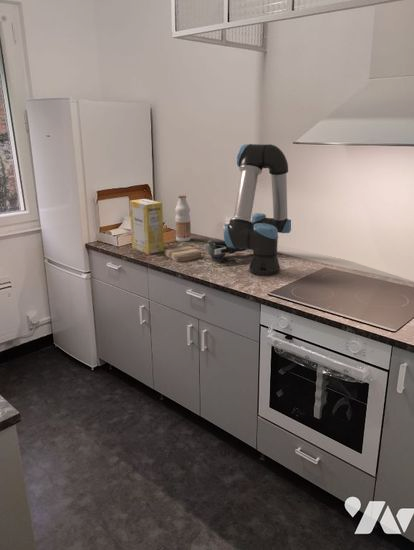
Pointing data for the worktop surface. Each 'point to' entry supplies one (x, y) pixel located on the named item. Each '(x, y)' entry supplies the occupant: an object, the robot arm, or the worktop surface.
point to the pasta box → (146, 225)
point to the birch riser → (182, 253)
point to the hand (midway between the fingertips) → (209, 249)
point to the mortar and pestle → (212, 251)
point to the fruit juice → (182, 220)
